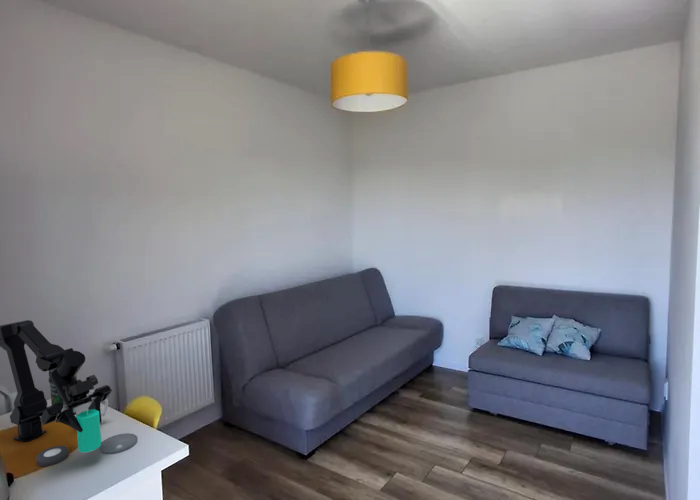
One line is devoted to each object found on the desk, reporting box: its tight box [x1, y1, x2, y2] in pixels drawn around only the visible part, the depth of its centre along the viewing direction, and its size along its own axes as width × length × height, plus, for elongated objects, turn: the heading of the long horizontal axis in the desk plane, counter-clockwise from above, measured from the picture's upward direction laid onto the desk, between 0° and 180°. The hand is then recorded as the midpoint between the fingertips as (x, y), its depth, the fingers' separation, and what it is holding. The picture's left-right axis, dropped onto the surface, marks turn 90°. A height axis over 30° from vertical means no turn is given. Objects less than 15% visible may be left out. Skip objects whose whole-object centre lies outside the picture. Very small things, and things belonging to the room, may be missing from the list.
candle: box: [75, 409, 102, 453], centre depth 130 cm, size 6×6×12 cm
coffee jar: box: [48, 368, 78, 414], centre depth 163 cm, size 10×8×19 cm
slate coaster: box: [98, 432, 138, 455], centre depth 140 cm, size 11×11×1 cm
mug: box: [75, 390, 109, 417], centre depth 152 cm, size 10×7×12 cm, turn 128°
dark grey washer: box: [35, 445, 69, 468], centre depth 132 cm, size 8×8×2 cm
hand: (91, 426), depth 129 cm, fingers closed on candle, 5 cm apart
